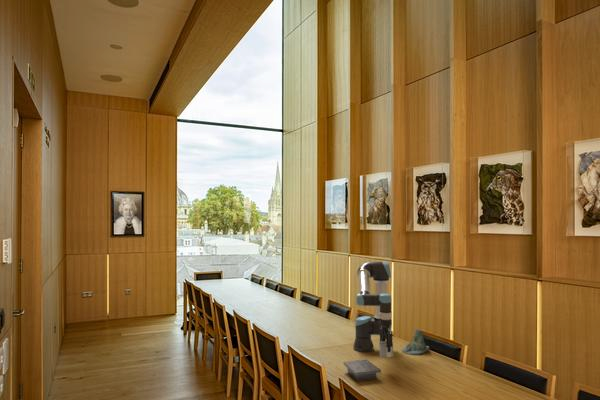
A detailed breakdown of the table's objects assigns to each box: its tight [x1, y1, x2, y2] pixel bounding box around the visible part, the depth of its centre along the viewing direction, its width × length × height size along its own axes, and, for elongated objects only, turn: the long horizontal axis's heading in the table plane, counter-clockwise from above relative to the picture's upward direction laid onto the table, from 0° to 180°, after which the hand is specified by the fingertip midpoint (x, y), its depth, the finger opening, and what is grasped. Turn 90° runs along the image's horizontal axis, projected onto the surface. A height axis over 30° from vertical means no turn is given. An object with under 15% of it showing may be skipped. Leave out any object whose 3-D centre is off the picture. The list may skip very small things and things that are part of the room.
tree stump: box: [401, 328, 430, 356], centre depth 309 cm, size 18×20×18 cm
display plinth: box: [343, 358, 382, 382], centre depth 259 cm, size 20×16×6 cm
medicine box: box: [378, 341, 394, 358], centre depth 267 cm, size 8×4×9 cm, turn 93°
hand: (386, 355), depth 267 cm, fingers closed on medicine box, 5 cm apart
